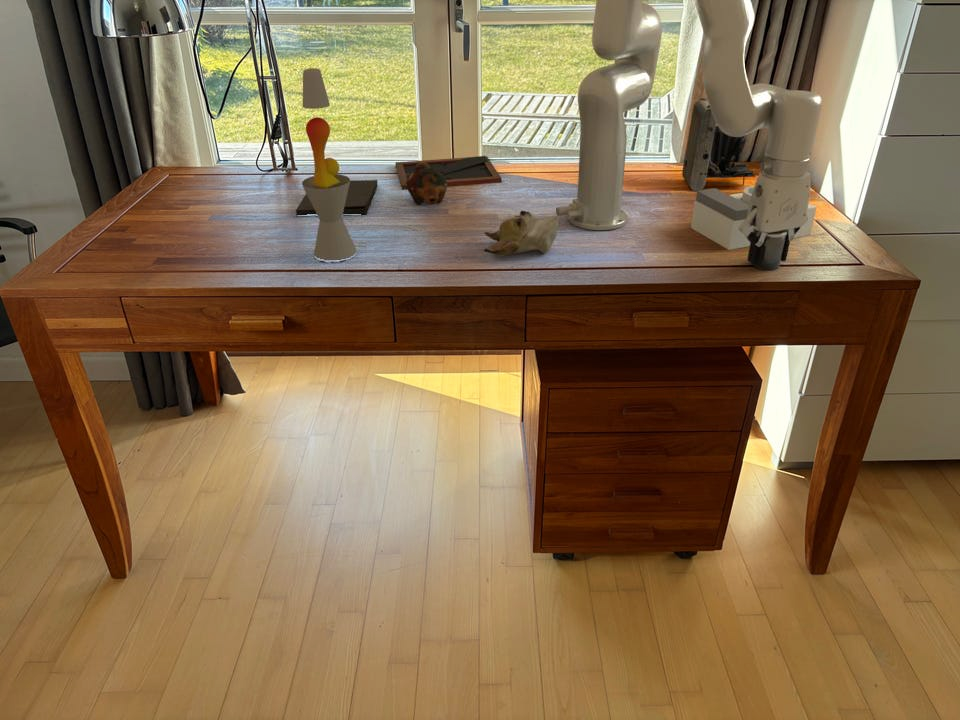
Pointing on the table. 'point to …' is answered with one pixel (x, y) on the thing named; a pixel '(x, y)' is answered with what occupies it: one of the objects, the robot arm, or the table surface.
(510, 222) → the ceramic sculpture
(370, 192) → the dark brown rectangular slab
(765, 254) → the silver grey short cylinder
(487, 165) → the picture frame
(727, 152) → the vintage camera
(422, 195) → the brown rounded lump
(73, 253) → the table surface
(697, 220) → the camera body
